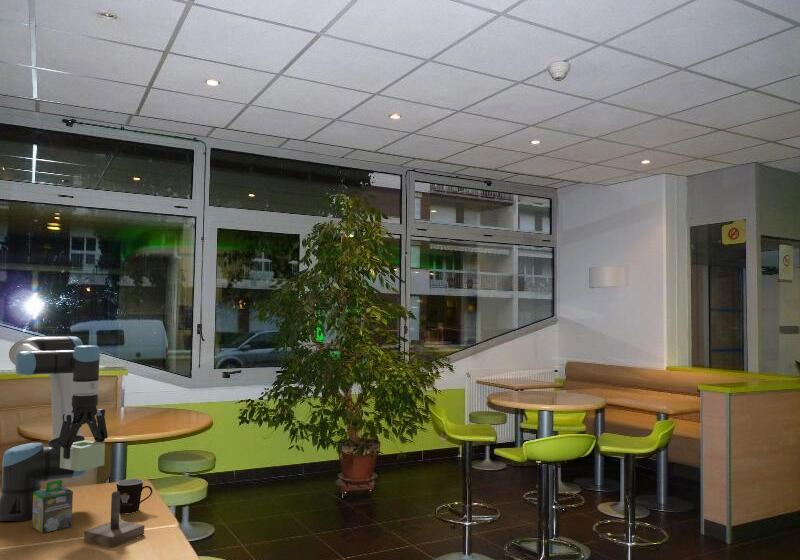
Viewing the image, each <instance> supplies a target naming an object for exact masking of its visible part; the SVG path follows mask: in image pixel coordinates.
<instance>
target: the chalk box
mask: <svg viewBox="0 0 800 560" xmlns="http://www.w3.org/2000/svg"><path fill="white" fill-rule="evenodd" d="M53 485H57V486H54V487H52V486H53ZM73 494H74V491H73V490H71V489H69V488H67V487H65V486H63V479H57V480H51V481H47V483H46V488H44V489H41V490H39V491H35V492H33V516H32V519H31V520H32V523H31V524H32V525H31V526H32V527H31V528H34V529H35V530H36V531H38V532H40V533H42V534H45V533H50V532H53V531H58V530H62V529H68V528H71V527H72V526H73V525H72V524H73V523H72V521H73V498H74V497H73V496H74V495H73Z"/></svg>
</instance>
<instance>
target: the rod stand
mask: <svg viewBox="0 0 800 560" xmlns="http://www.w3.org/2000/svg"><path fill="white" fill-rule="evenodd" d="M110 500H111V503H110V521H109V522H106V523H103V524H101V525H98V526H95V527H91V528H89V529H85V530H84V531H83V542H86V543H90V544H95V545H99V546H104V547H107V548H115V547H117V546H120V545H122V544H125V543H127V542H130V541H132V540H135V539H138V538H140V537H139V536H141V535H143V534H144V535H145V525H144V524H139V523H134V522H130V521H125V520H120V513H119V512H120V493H119V492H118V491H117V490H114V491H113V492H111V498H110ZM144 535H143V536H144ZM137 537H138V538H137ZM141 537H142V536H141Z"/></svg>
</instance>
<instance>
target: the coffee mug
mask: <svg viewBox="0 0 800 560" xmlns="http://www.w3.org/2000/svg"><path fill="white" fill-rule="evenodd" d="M143 485H144V480H143V479H140V478H128V479H127V478H126V479H123V480H122V479H121V480H119V481H117V482H116V491H118V492H119V493H120V512H119V514H121V513H124V514H123V515H126V514H125V513H131V514H133V513H132V512H135V513H137V512H136V511H138V510H139V511H140V505H141V504H142V503H143V502H145V501H146V500H147V499H149V498H150V497H151V496H152V495H153V488H152V487H151V486H149V485H144V486H143ZM145 488H148V489H149V491H150V494H149V495H148V496H147V497H145V498H144V499H142V492H143V490H144V489H145ZM141 499H142V500H141ZM139 511H138V512H139Z"/></svg>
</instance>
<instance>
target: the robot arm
mask: <svg viewBox="0 0 800 560" xmlns="http://www.w3.org/2000/svg"><path fill="white" fill-rule="evenodd" d="M8 358H9V360H10V362H11V363H12V364H13V365H14V367H15V373H16V374H17V375H19V376H32V375H35V376H36V375H48V376H49V377H50V397H51V420H52V421H51V422H52V437H51V439H49V440H48V442H47V446H44V444H43V443H42V442H29V443H24V444H19V445H16V446H13V447H11V448H9V449H7V450H6V451H4V453H3V458H2V463H1V467H2V474H1V475H2V476H1V477H2V478H1V494H0V521H17V522H23V521H29V520H32V516H33V492H35V491H39V490H42V483H43V482H50V481H58V480H63V479H65V480H66V479H73V478H78V477H83V476H84V475H85V474H86V473H87V471H88V469H87V470H83V471H75V470H72V469H73V449H74V448H71V446H72V444H73V443H74V442H79V441H84V440H86V439H85V436H84V435H83V434H82V433H80V428H81V427H82V426H83V425H85V424H87V425H88V428H89V430H90V432H91V434H92V437H93V439H94V441H95V442H102V443H105V439H106V440H107V439H108V430H107V423H106V417H105V414H106V409H103V408H97V406H98V404H99V395H98V394H97V393H98V392H99V385H100V383H99V381H100V379H99V378H100V377H99V375H100V360H101V359H100V358H101V353H100V347H99V346H98V345H93V344H91V345H89V344H85V345H84V343H83V341H82V340H81V338H80V337H77V336H72V335H71V336H69V335H65V336H61V335H60V336H31V337H27V338H23V339H21V340H18V341H17V342H15V343H14V344H13V345H12V346H11V347H10V349H9V352H8ZM61 447H63V449H64V451H63V458H64V459H65V469H64V468H60V449H61Z"/></svg>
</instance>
